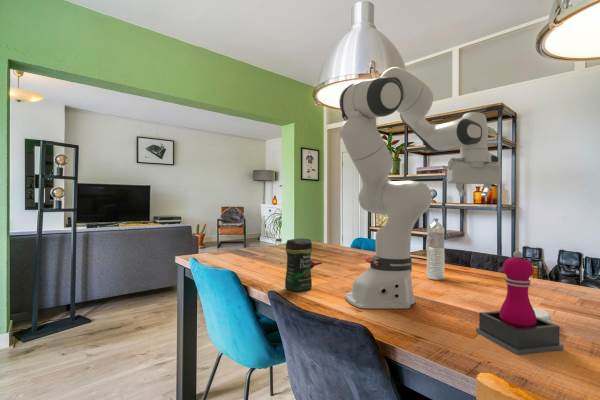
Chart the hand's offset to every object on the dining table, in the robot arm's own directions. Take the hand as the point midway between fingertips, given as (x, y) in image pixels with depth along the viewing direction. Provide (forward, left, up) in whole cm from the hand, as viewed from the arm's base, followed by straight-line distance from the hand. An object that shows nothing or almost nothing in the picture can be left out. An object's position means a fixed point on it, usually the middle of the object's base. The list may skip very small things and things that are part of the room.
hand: (473, 196), depth 116 cm
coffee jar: (-62, +14, -34) cm, 72 cm away
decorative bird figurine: (-54, +36, -34) cm, 73 cm away
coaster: (-8, -29, -35) cm, 46 cm away
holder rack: (-20, -38, -34) cm, 55 cm away
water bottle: (-3, +18, -34) cm, 39 cm away
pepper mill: (-20, -38, -33) cm, 54 cm away
